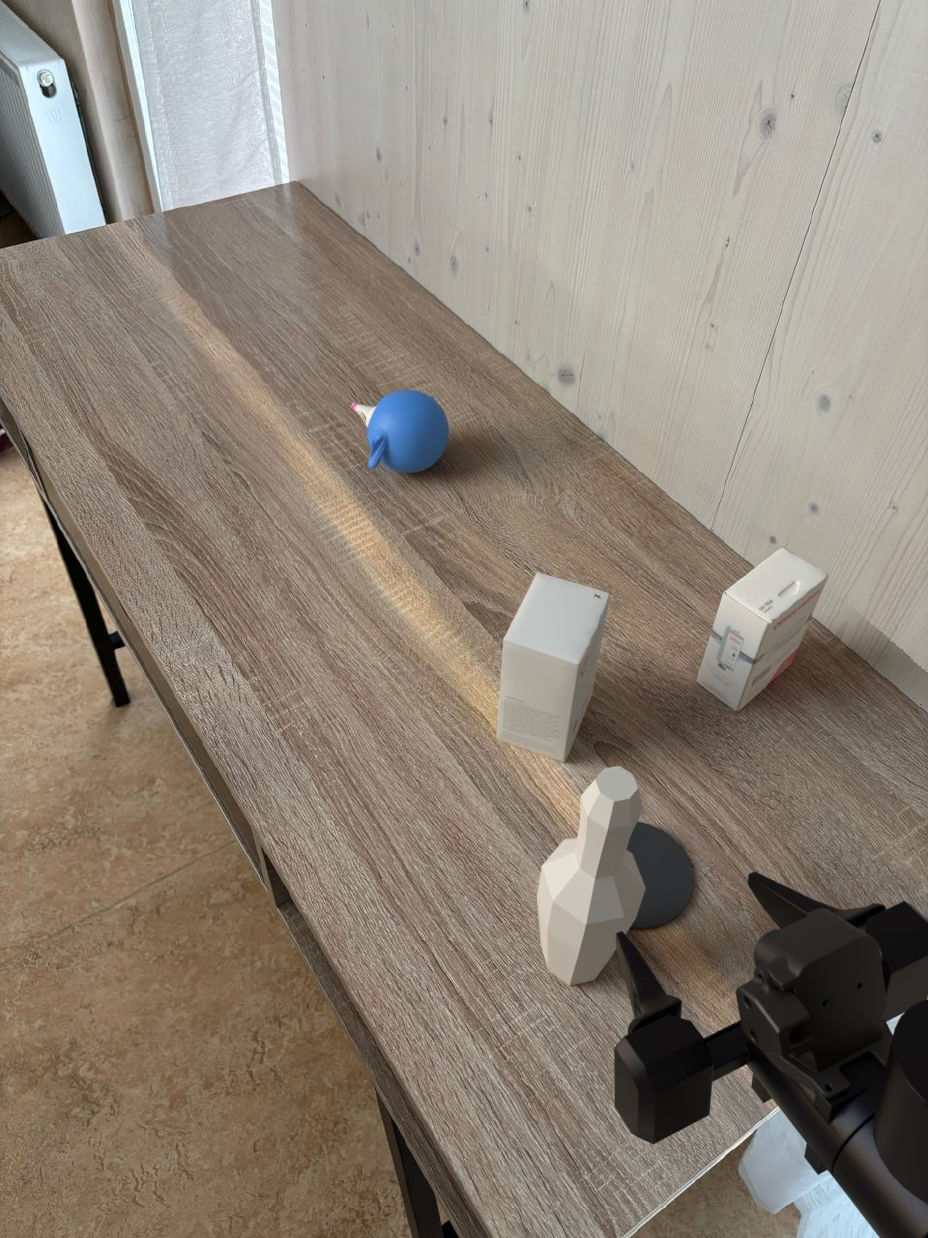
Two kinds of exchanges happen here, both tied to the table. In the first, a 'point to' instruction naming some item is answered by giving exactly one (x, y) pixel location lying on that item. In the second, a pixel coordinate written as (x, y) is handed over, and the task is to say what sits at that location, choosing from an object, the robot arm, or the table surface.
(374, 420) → the blue mole toy
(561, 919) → the faceted bottle
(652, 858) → the coaster
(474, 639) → the table surface
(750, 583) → the ink box
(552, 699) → the small box
